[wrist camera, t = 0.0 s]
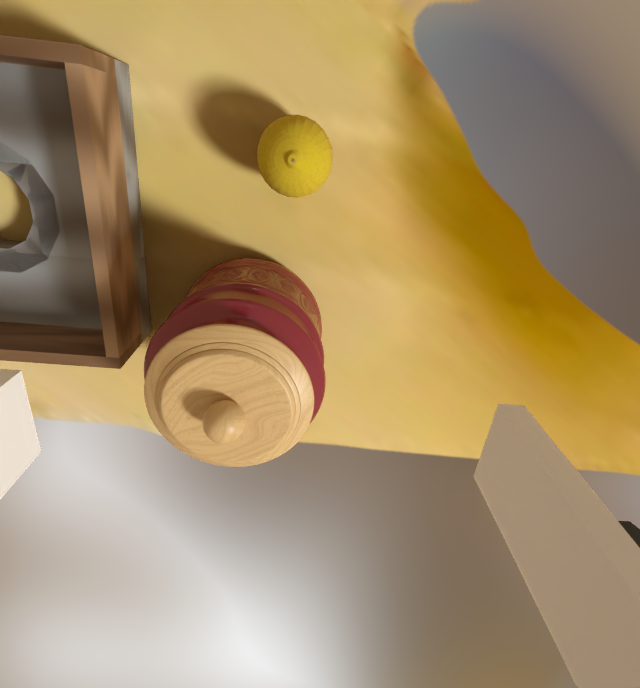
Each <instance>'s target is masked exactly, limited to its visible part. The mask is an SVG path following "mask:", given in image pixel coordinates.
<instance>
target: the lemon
mask: <svg viewBox="0 0 640 688" xmlns="http://www.w3.org/2000/svg"><path fill="white" fill-rule="evenodd" d="M332 159H333V158H332V148H331V144H330V141H329V138H328V137H327V135H326V133H325V132H324V130H323V129H322V128H321V127H320V126H319V125H318V124H317V123H316V122H315V121H313V120H311V119H309V118H308V117H304V116H300V115H286V116H284V117H281V118H278V119H276V120H275V121H274V122H272V123H271V124H269V126H268V127H267V128H266V129H265V130H264V132H263V134H262V136H261V138H260V140H259V144H258V149H257V163H258V166H259V170H260V173H261V175H262V176H263V178H264V180H265V182H266V183H267V184H268V185H269V186H270V187H271V188H272V189H273V190H275V191H276V192H278V193H279V194H282V195H285V196H288V197H302V196H307V195H309V194H311V193H313V192H315V191H316V190H317V189H319V188H320V187H321V186H322V185H323V183H324V182H325V180H326V179H327V177H328V175H329V172H330V170H331V165H332Z"/></svg>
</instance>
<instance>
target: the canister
mask: <svg viewBox="0 0 640 688" xmlns="http://www.w3.org/2000/svg"><path fill="white" fill-rule="evenodd" d="M321 334H322V325H321V316H320V311H319V308H318V305H317V302H316V300H315V298H314V296H313V295H312V293H311V291H310V290H309V288H308V287H307V286H306V285H305V284H304V282H303V281H302V280H301V279H300V278H299V277H298V276H297V275H296V274H294V273H293V272H292V271H290V270H289V269H287V268H285V267H284V266H282V265H280V264H277V263H275V262H272V261H268V260H264V259H258V258H242V259H236V260H232V261H228V262H225V263H222V264H220V265H217V266H215V267H214V268H212V269H210V270H209V271H207V272H206V273H205V274H203V275H202V276H201V277H200V278H199V279H198V280H197V281H196V282H195V284H194V285H193V286H192V287H191V289H190V290H189V292H188V294H187V296H186V298H185V300H184V301H182V302H181V303H180V304H179V305H178V306H177V307H176V308H175V309H174V310H173V312H172V313H171V314H170V316H169V317H168V319H167V321H166V322H164V323H163V324H162V326H161V327H160V328H159V329H158V330H157V332H156V333H155V335H154V336H153V338H152V340H151V342H150V344H149V346H148V349H147V352H146V356H145V362H144V379H145V386H144V396H145V402H146V407H147V410H148V413H149V415H150V417H151V419H152V421H153V423H154V425H155V426H156V428H157V429H158V430H159V432H160V433H161V434H162V435H163V436H164V437H165V438H166V439H167V440H168V441H169V442H170V443H171V444H172V445H173V446H175V447H176V448H177V449H179V450H180V451H182V452H184V453H185V454H187V455H189V456H191V457H193V458H196V459H198V460H201V461H203V462H207V463H210V464H215V465H220V466H230V467H239V466H240V467H241V466H251V465H256V464H260V463H264V462H267V461H270V460H272V459H274V458H276V457H278V456H280V455H282V454H283V453H285V452H287V451H288V450H289V449H290V448H292V447H293V446H294V445H295V444H296V443H297V442H298V441H299V440H300V439H301V437H302V436H303V435H304V433H305V431H306V430H307V428H308V426H309V424H310V423H311V422H312V420H313V419H314V418H315V416H316V414H317V413H318V411H319V409H320V406H321V404H322V401H323V397H324V392H325V371H324V351H323V346H322V342H321Z"/></svg>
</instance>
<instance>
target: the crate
mask: <svg viewBox="0 0 640 688" xmlns="http://www.w3.org/2000/svg"><path fill="white" fill-rule="evenodd" d="M0 171H2V172H4V173H5V174H7V175H8V176H10V177H12V178H13V179H14V180H15V182H16V183H17V184H18V186H19V187H20V189H21V190H22V191H23V193H24V194H25V195H26V197H27V198H28V199H29V204H30V209H31V214H32V219H33V224H32V227H31V229H30V231H29V234H28V236H27V239H26V240H25V241H23V242H19V241H7V240H5V239H3V238H2V237H0V360H5V361H19V362H33V363H47V364H61V365H75V366H89V367H104V368H118V369H121V367H122V366H123V365H124V364H125V363H126V361H127V360H128V359H129V358H130V356H131V355H132V354H133V353H134V352H135V350H136V349H137V348H138V347H139V345H140V344H141V343H142V342H143V341H144V339H145V338H146V337H147V336H148V335H149V333H150V332H151V321H150V309H149V298H148V286H147V274H146V263H145V251H144V240H143V228H142V217H141V205H140V193H139V182H138V170H137V159H136V147H135V136H134V124H133V112H132V101H131V89H130V78H129V66H128V64H126V63H123V62H121V61H118V60H116V59H114V58H111V57H109V56H106V55H104V54H102V53H99V52H97V51H94V50H92V49H90V48H87V47H85V46H82V45H80V44H74V43H65V42H57V41H49V40H40V39H32V38H24V37H15V36H7V35H0Z"/></svg>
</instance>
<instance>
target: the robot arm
mask: <svg viewBox="0 0 640 688" xmlns="http://www.w3.org/2000/svg"><path fill="white" fill-rule="evenodd" d="M40 452H41V449H40V444H39V440H38V436H37V432H36V428H35V424H34V420H33V416H32V412H31V408H30V404H29V400H28V396H27V392H26V388H25V384H24V379H23V375H22V371H21V370H7V369H0V499H1V498H2V497H3V496H4V495H5V493H6V492H7V491H8V490H9V489H10V488H11V486H12V485H13V484H14V483H15V482H16V481H17V479H18V478H19V477H20V476H21V475H22V473H23V472H24V471H25V470H26V469H27V468H28V467H29V465H30V464H31V463H32V462H33V460H35V458H36V457H37V456H38V455H39V454H40ZM474 478H475V480H476V482H477V484H478V486H479V489H480V491H481V493H482V495H483V497H484V499H485V501H486V503H487V505H488V507H489V509H490V511H491V513H492V515H493V517H494V519H495V521H496V523H497V525H498V527H499V529H500V531H501V533H502V535H503V538H504V540H505V542H506V544H507V546H508V547H509V550H510V552H511V554H512V556H513V558H514V560H515V562H516V564H517V566H518V568H519V570H520V572H521V574H522V576H523V578H524V580H525V582H526V584H527V586H528V589H529V591H530V593H531V594H532V597H533V599H534V601H535V603H536V605H537V607H538V609H539V611H540V613H541V615H542V617H543V619H544V621H545V623H546V625H547V627H548V629H549V631H550V633H551V635H552V637H553V639H554V641H555V644H556V645H557V648H558V650H559V652H560V654H561V656H562V658H563V660H564V662H565V663H566V666H567V668H568V670H569V672H570V674H571V676H572V678H573V680H574V682H575V684H576V686H577V688H640V529H639V528H637V527H636V526H635V525H633V524H632V523H631V522H628V521H617V519H616V518H615V517H614V516H613V514H612V513H611V512H610V511H609V510H608V509H607V507H606V506H605V505H604V503H603V502H602V501H601V500H600V499H599V497H598V496H597V495H596V493H594V491H593V490H592V489H591V487H590V486H589V485H588V484H587V483H586V481H585V480H584V479H583V478H582V476H581V475H580V474H579V473H578V471H577V470H576V469H575V468H574V466H573V465H572V464H571V463H570V461H569V460H568V459H567V458H566V457H565V455H564V454H563V453H562V452H561V450H560V449H559V448H558V447H557V445H556V444H555V443H554V442H553V440H552V439H551V438H550V437H549V436H548V434H547V433H546V432H545V431H544V429H543V428H542V427H541V426H540V424H539V423H538V422H537V421H536V420H535V418H534V417H533V416H532V415H531V413H530V412H529V411H528V410H527V408H526V407H525V406H522V405H508V404H498V407H497V410H496V413H495V415H494V418H493V421H492V424H491V427H490V430H489V433H488V436H487V439H486V442H485V445H484V448H483V451H482V454H481V456H480V459H479V462H478V465H477V468H476V471H475V474H474Z"/></svg>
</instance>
